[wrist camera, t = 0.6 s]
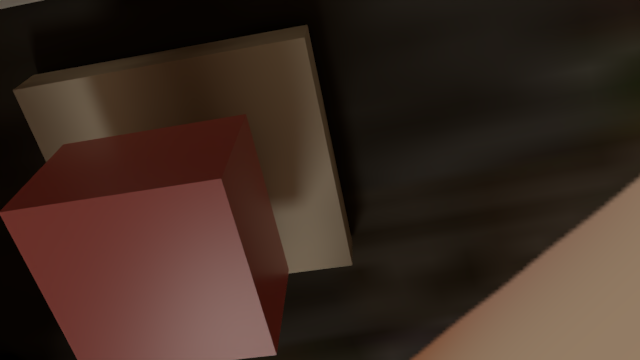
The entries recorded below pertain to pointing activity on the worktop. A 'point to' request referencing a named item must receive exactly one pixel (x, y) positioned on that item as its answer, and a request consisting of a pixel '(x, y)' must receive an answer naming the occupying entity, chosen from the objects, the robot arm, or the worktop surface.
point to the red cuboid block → (156, 244)
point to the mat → (14, 3)
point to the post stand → (213, 103)
